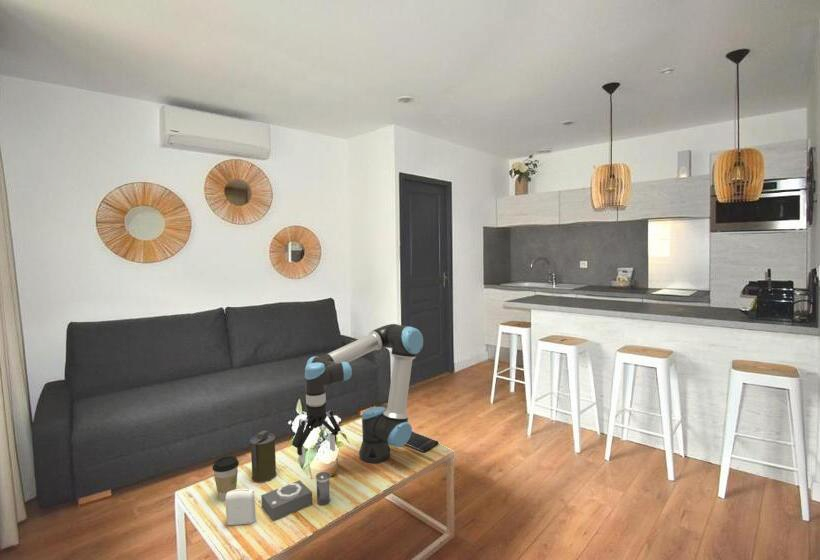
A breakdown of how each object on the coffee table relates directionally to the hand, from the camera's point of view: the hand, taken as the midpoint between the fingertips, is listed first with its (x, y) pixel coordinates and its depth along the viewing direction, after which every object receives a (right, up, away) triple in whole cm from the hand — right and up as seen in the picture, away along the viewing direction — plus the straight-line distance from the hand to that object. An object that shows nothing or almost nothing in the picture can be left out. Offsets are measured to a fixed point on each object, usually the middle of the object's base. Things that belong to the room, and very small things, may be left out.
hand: (317, 456), depth 165 cm
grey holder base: (-11, -19, 0) cm, 22 cm away
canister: (-29, -18, +21) cm, 40 cm away
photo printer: (-26, -21, -10) cm, 35 cm away
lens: (+2, -19, +2) cm, 19 cm away
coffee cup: (-38, -19, +6) cm, 43 cm away
